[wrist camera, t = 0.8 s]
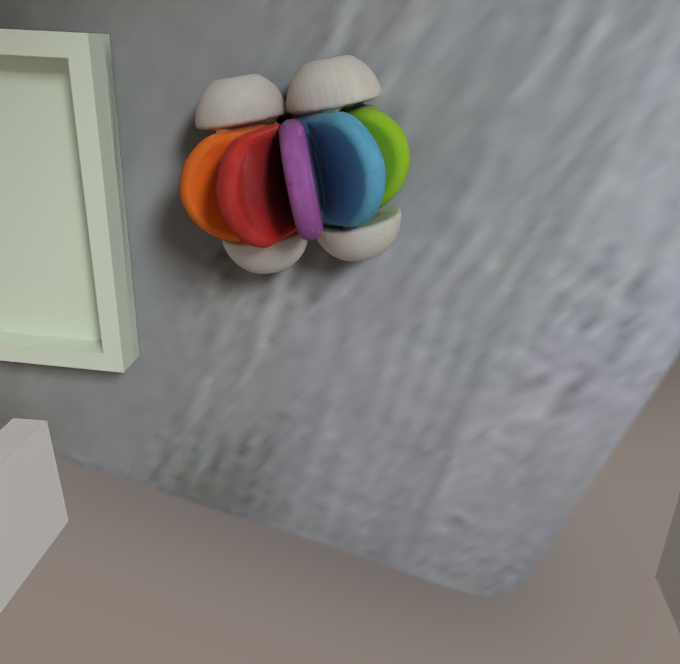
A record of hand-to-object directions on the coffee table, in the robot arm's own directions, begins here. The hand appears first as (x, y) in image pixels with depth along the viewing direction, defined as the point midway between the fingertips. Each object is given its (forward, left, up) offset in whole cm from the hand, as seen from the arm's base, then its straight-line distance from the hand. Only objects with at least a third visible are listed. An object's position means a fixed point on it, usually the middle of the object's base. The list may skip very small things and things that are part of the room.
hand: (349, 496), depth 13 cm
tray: (-1, -21, -19) cm, 28 cm away
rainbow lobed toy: (-4, -4, -19) cm, 20 cm away
